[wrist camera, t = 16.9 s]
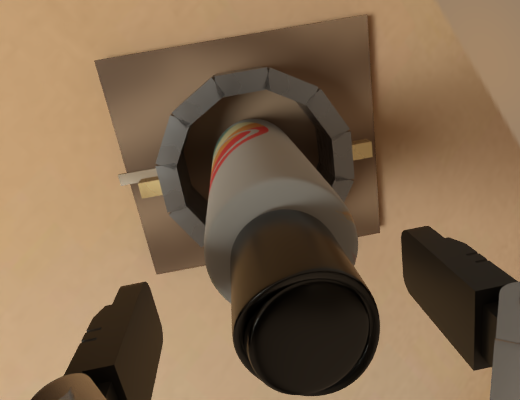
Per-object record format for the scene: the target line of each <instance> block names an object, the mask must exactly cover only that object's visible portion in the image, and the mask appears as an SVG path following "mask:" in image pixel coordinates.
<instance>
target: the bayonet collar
mask: <svg viewBox="0 0 520 400" xmlns="http://www.w3.org/2000/svg"><path fill="white" fill-rule="evenodd" d="M262 90H268V91H271V92H273V93H276V94H279V95H281V96H284V97H286V98H289V99H291V100H294V101H296V102H297V104H298V105H299V106H300V108H301V109H302V110H303V112H304V113H305V114H306V116H307V117H308V118H309V120H310V121H311V122H312V123H313V125H314V126H315V130H316V139H317V148H318V157H319V162H318V165H317V167H316V170H317V171H318V172H319V173H320V174H321V175H322V177H323V178H324V179H325V180H326V181H327V182H328V184H329V185H330V186H331V187H332V188H333V189H334V191H335V192H336V193H337V194H338V195H339V197H340V198H341V199H342V201H343V202H345V200H346V197H347V195H348V193H349V191H350V189H351V187H352V185H353V182H354V181H353V180H352V179H355V178H354V165H353V160H359V159H364V158H370V157H373V155H372V142H371V141H370V140H368V139H361V140H356V141H352V140H351V131H349V129H350V128H349V127H348V126H347V124H346V123H345V121H344V120H343V119H342V117H341V116H340V115H339V113H338V112H337V110H336V109H335V108H334V106H333V105H332V104H331V102H330V101H329V99H328V98H327V97H326V95H325V94H324V92H323V91H322V90H321V89H319V88H318V87H317V86H315V85H312V84H310V83H307V82H305V81H302V80H300V79H297V78H295V77H293V76H290V75H288V74H285V73H283V72H280V71H278V70H275V69H273V68H270V67H262V66H259V67H253V68H247V69H241V70H235V71H230V72H224V73H218V74H215V76H214V75H213V76H212V77H211V78H209V79H208V80H207V81H206V82H205V83H204V84H203V85H201V86H200V87H199V88H198V89H197V90H196V91H195V92H193V93H192V94H191V95H190V96H189V97H188V98H187V99H186V100H184V101H183V102H182V103H181V104H180V105H179V106H178V107H177V108H176V109H175V110H174V111H173V112H172V114H171V115H170V117H169V120H168V124H167V127H166V130H165V133H164V137H163V140H162V143H161V147H160V150H159V153H158V157H157V160H156V163H155V164H157V165H156V166H155V167H156V171H157V175H158V176H155V177H150V178H144V179H141V180H140V181H139V183H138V186H139V190H140V194H141V197H142V199H143V198H149V197H154V196H160V195H163V197H164V201H165V205H166V209H167V213H168V212H170V213H169V216H170V217H171V218H172V219H173V220H174V221H175V222H176V223H177V224H178V225H179V226H180V227H181V228H182V229H183V230H184V231H185V232H186V233H187V234H188V235H189V236H190V237H191V238H192V239H193V240H194V241H195V242H196V243H197V244H198V245H199V246H200V247H201V248H202V247H203V246H204V235H205V225H206V216H207V207H208V201H207V200H206V199H205V198H204V197H203V196H202V195H201V194H200V193H199V192H198V191H197V190H196V189H195V188H194V187H193V186H192V184H191V181H190V177H189V172H188V168H187V164H186V159H185V155H184V151H183V150H184V147H185V144H186V141H187V138H188V135H189V132H190V128H191V125H192V123H193V122H195V121H196V120H197V119H198V118H199V117H200V116H202V115H203V114H204V113H205V112H206V111H207V110H208V109H210V108H211V107H212V106H213V105H214V104H215V103H217V102H218V101H219V100H220V99H221V98H222V97H228V96H233V95H239V94H245V93H251V92H256V91H262Z"/></svg>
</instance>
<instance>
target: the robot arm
mask: <svg viewBox="0 0 520 400" xmlns="http://www.w3.org/2000/svg"><path fill="white" fill-rule="evenodd" d="M401 243H402V262H403V277H404V282H405V285H406V287H407V290H408V292H409V293H410V295H411V296H412V297H413V298H414V299H415V301H416V302H417V303H418V304H419V305H420V307H421V308H422V309H423V310H424V311H425V313H426V314H427V315H428V316H429V318H430V319H431V320H432V321H433V322H434V324H435V325H436V326H437V327H438V328H439V330H440V331H441V332H442V333H443V334H444V336H445V337H446V338H447V339H448V340H449V342H450V343H451V344H452V345H453V346H454V348H455V349H456V350H457V351H458V352H459V354H460V355H461V356H462V357H463V358H464V360H465V361H466V362H467V363H468V364H469V366H470V367H471V368H472V369H473V370H479V369H484V368H488V367H492V379H491V391H490V400H520V282H518V281H516V280H515V279H514V278H512V277H511V276H510V275H508V274H507V273H505V272H504V271H503V270H501V269H500V268H498V267H497V266H496V265H494V264H493V263H492V262H490V261H487V259H486V258H485V257H483V256H482V255H481V254H477V252H476V251H475V250H474V249H472V248H471V247H470V246H468V245H467V244H465V243H463V242H460V241H457V240H454V239H452V238H444V237H442V236H441V235H440V234H439V233H437V232H436V231H435V230H433V229H432V228H431V227H429V226H424V227H419V228H414V229H409V230H404V231H403V232H402V235H401ZM162 344H163V332H162V326H161V322H160V319H159V316H158V313H157V309H156V306H155V303H154V300H153V296H152V293H151V290H150V287H149V285H148V283H147V282H141V283H136V284H131V285H126V286H121V287H120V289H119V291H118V293H117V295H116V297H115V300H114V302H113V304H112V305H108V306H105V307H104V308H103V309H102V310H101V311H100V312H99V313H98V314H97V315H96V316H95V317H94V318H93V319H92V321H91V323H90V325H89V327H88V329H87V333H85V335H84V337H83V339H82V343H80V345H79V347H78V349H77V351H76V353H75V355H74V356H73V358H72V360H71V362H70V364H69V366H68V368H67V370H66V372H65V374H64V376H63V377H60V378H58V379H56V380H54V381H52V382H50V383H49V384H47V385H46V386H44V387H43V388H42V389H41V390H39V391H38V392H37V393H36V394H35V395H34V396H33V398H32V399H31V400H151V397H152V392H153V387H154V383H155V378H156V373H157V368H158V364H159V359H160V354H161V349H162Z"/></svg>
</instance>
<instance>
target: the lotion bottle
mask: <svg viewBox="0 0 520 400" xmlns="http://www.w3.org/2000/svg"><path fill="white" fill-rule="evenodd" d="M357 251H358V236H357V230H356V226H355V223H354V220H353V218H352V215H351V213H350V211H349V210H348V208H347V206H346V205H345V204H344V202H343V201H342V199H341V198H340V197H339V195H338V194H337V193H336V192H335V191H334V189H333V188H332V187H331V186H330V185H329V184H328V182H327V181H326V180H325V179H324V178H323V177H322V175H321V174H320V173H319V172H318V171H317V170H316V168H315V167H314V166H313V165H312V164H311V163H310V162H309V160H308V159H307V158H306V157H305V156H304V155H303V153H302V152H301V151H300V150H299V149H298V148H297V147H296V145H295V144H294V143H293V142H292V141H291V140H290V138H289V137H288V136H287V135H286V134H285V133H284V132H283V131H282V130H281V129H280V128H279V127H277V126H276V125H274V124H272V123H270V122H268V121H265V120H261V119H246V120H242V121H239V122H237V123H235V124H233V125H231V126H230V127H229V128H227V129H226V130H225V131H224V132H223V134H222V135H221V136H220V138H219V140H218V141H217V144H216V146H215V150H214V154H213V161H212V170H211V179H210V188H209V198H208V207H207V216H206V225H205V235H204V258H205V264H206V268H207V271H208V274H209V276H210V279H211V281H212V283H213V284H214V286H215V287H216V289H217V290H218V291H219V293H220V294H221V295H222V296H223V297H224V298H225V299H226V300H227V301H229V302H230V303H231V312H232V336H233V343H234V348H235V350H236V353H237V355H238V357H239V359H240V360H241V362H242V363H243V364H244V366H245V367H246V368H247V369H248V370H249V371H250V372H251V373H252V374H253V375H254V376H256V377H257V378H258V379H260V380H261V381H263V382H264V383H265V384H266V385H267V386H269V387H270V388H272V389H274V390H276V391H278V392H281V393H285V394H290V395H302V396H320V395H326V394H330V393H334V392H336V391H339V390H341V389H343V388H345V387H347V386H348V385H350V384H352V383H353V382H354V381H355V380H357V379H358V378H359V377H360V376H361V375H362V374H363V372H364V371H365V370H366V369H367V367H368V366H369V364H370V362H371V360H372V359H373V356H374V354H375V352H376V348H377V345H378V341H379V334H380V320H379V313H378V309H377V305H376V303H375V300H374V298H373V296H372V294H371V292H370V291H369V289H368V287H367V286H366V284H365V283H364V281H363V280H362V278H361V277H360V275H359V273H358V272H357V270H356V269H355V267H354V264H355V261H356V257H357Z"/></svg>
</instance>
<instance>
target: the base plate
mask: <svg viewBox="0 0 520 400" xmlns="http://www.w3.org/2000/svg"><path fill="white" fill-rule="evenodd" d="M95 65H96V68H97V71H98V75H99V78H100V82H101V85H102V89H103V92H104V96H105V99H106V102H107V106H108V109H109V113H110V116H111V120H112V123H113V126H114V130H115V133H116V137H117V140H118V144H119V147H120V150H121V154H122V157H123V161H124V164H125V168H126V171H127V173H123V174H118V177H119V180H120V184H121V186H123V185H128V184H130V185H131V188H132V192H133V195H134V199H135V202H136V205H137V209H138V212H139V216H140V219H141V223H142V226H143V230H144V233H145V236H146V240H147V243H148V247H149V250H150V254H151V257H152V260H153V264H154V267H155V271H156V274H162V273H167V272H173V271H178V270H183V269H189V268H194V267H199V266H205V265H206V264H205V258H204V246H203V247H202V248H201V247H200V246H199V245H198V244H197V243H196V242H195V241H194V240H193V239H192V238H191V237H190V236H189V235H188V234H187V233H186V232H185V231H184V230H183V229H182V228H181V227H180V226H179V225H178V224H177V223H176V222H175V221H174V220H173V219H172V218H171V217H170V216H169V213H170V212H168V213H167V209H166V205H165V201H164V197H163V195H160V196H154V197H149V198H143V199H142V197H141V194H140V190H139V186H138V183H139V181H140V180H141V179H144V178H150V177H155V176H158V175H157V171H156V167H155V166H156V165H157V164H155V163H156V160H157V157H158V153H159V150H160V147H161V143H162V140H163V137H164V133H165V130H166V127H167V124H168V120H169V117H170V115H171V114H172V112H173V111H174V110H175V109H176V108H177V107H178V106H179V105H180V104H181V103H182V102H183V101H184V100H186V99H187V98H188V97H189V96H190V95H191V94H192V93H193V92H195V91H196V90H197V89H198V88H199V87H200V86H201V85H203V84H204V83H205V82H206V81H207V80H208V79H209V78H211V77H212V76H213V75H214V76H215V74H218V73H224V72H230V71H235V70H241V69H247V68H253V67H259V66H262V67H270V68H273V69H275V70H278V71H280V72H283V73H285V74H288V75H290V76H293V77H295V78H297V79H300V80H302V81H305V82H307V83H310V84H312V85H315V86H317V87H318V88H319V89H321V90H322V91H323V92H324V94H325V95H326V97H327V98H328V99H329V101H330V102H331V104H332V105H333V106H334V108H335V109H336V110H337V112H338V113H339V115H340V116H341V117H342V119H343V120H344V121H345V123H346V124H347V126H348V127H349V128H350V129H349V131H351V140H352V141H356V140H361V139H368V140H370V141H371V142H372V155H373V157H370V158H364V159H359V160H353V165H354V178H355V179H352V180H353V181H354V182H353V185H352V187H351V189H350V191H349V193H348V195H347V197H346V200H345V202H344V204H345V205H346V206H347V208H348V210H349V211H350V213H351V215H352V218H353V220H354V223H355V226H356V230H357V236H358V237H360V236H365V235H370V234H376V233H380V223H379V206H378V189H377V172H376V155H375V138H374V121H373V104H372V87H371V70H370V53H369V35H368V18H367V14H366V15H360V16H355V17H349V18H343V19H337V20H331V21H325V22H319V23H313V24H307V25H302V26H296V27H290V28H284V29H278V30H272V31H266V32H260V33H254V34H249V35H243V36H237V37H231V38H225V39H219V40H213V41H207V42H201V43H195V44H190V45H184V46H178V47H172V48H166V49H160V50H154V51H148V52H142V53H137V54H131V55H125V56H119V57H113V58H107V59H101V60H95ZM246 119H261V120H265V121H268V122H270V123H272V124H274V125H276V126H277V127H279V128H280V129H281V130H282V131H283V132H284V133H285V134H286V135H287V136H288V137H289V138H290V140H291V141H292V142H293V143H294V144H295V145H296V147H297V148H298V149H299V150H300V151H301V152H302V153H303V155H304V156H305V157H306V158H307V159H308V160H309V162H310V163H311V164H312V165H313V166H314V167H315V168H316V167H317V165H318V162H319V157H318V148H317V139H316V130H315V126H314V125H313V123H312V122H311V121H310V120H309V118H308V117H307V116H306V114H305V113H304V112H303V110H302V109H301V108H300V106H299V105H298V104H297V102H296V101H294V100H291V99H289V98H286V97H284V96H281V95H279V94H276V93H273V92H271V91H268V90H262V91H256V92H251V93H245V94H239V95H233V96H228V97H222V98H221V99H220V100H219V101H218V102H217V103H215V104H214V105H213V106H212V107H211V108H210V109H208V110H207V111H206V112H205V113H204V114H203V115H202V116H200V117H199V118H198V119H197V120H196V121H195V122H193V123H192V125H191V128H190V132H189V135H188V138H187V141H186V144H185V147H184V150H183V151H184V155H185V159H186V164H187V168H188V172H189V177H190V181H191V184H192V186H193V187H194V188H195V189H196V190H197V191H198V192H199V193H200V194H201V195H202V196H203V197H204V198H205V199H206V200H207V201H208V198H209V188H210V179H211V170H212V161H213V154H214V150H215V146H216V144H217V141H218V140H219V138H220V136H221V135H222V134H223V132H224V131H225V130H226V129H227V128H229V127H230V126H231V125H233V124H235V123H237V122H239V121H242V120H246Z"/></svg>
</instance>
